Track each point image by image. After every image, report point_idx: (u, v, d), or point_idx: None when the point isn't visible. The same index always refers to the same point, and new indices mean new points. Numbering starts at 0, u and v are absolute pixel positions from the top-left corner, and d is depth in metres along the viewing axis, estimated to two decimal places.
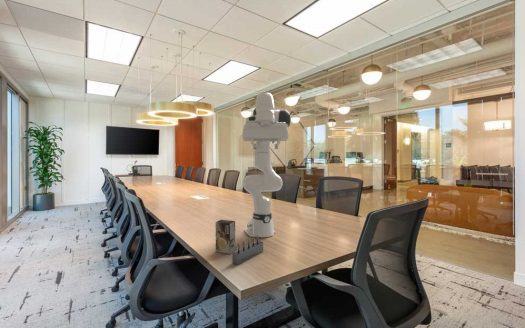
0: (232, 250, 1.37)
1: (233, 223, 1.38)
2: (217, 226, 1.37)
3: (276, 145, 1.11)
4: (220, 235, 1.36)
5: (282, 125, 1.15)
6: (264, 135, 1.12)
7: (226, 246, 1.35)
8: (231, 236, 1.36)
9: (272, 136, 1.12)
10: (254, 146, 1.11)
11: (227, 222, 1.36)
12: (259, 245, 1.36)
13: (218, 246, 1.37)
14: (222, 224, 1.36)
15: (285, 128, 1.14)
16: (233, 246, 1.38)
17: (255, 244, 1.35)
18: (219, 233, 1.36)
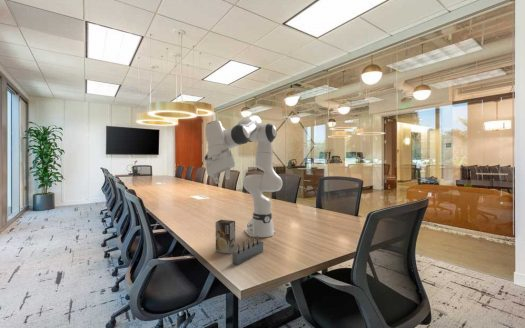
0: (232, 250, 1.37)
1: (233, 223, 1.38)
2: (217, 226, 1.37)
3: (225, 177, 1.18)
4: (220, 235, 1.36)
5: (223, 154, 1.17)
6: (216, 170, 1.22)
7: (226, 246, 1.35)
8: (231, 236, 1.36)
9: (220, 169, 1.20)
10: (215, 182, 1.25)
11: (227, 222, 1.36)
12: (259, 245, 1.36)
13: (218, 246, 1.37)
14: (222, 224, 1.36)
15: (225, 157, 1.16)
16: (233, 246, 1.38)
17: (255, 244, 1.35)
18: (219, 233, 1.36)
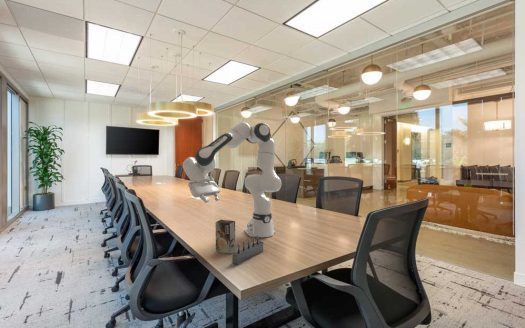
0: (232, 250, 1.37)
1: (233, 223, 1.38)
2: (217, 226, 1.37)
3: None
4: (220, 235, 1.36)
5: None
6: None
7: (226, 246, 1.35)
8: (231, 236, 1.36)
9: None
10: None
11: (227, 222, 1.36)
12: (259, 245, 1.36)
13: (218, 246, 1.37)
14: (222, 224, 1.36)
15: None
16: (233, 246, 1.38)
17: (255, 244, 1.35)
18: (219, 233, 1.36)
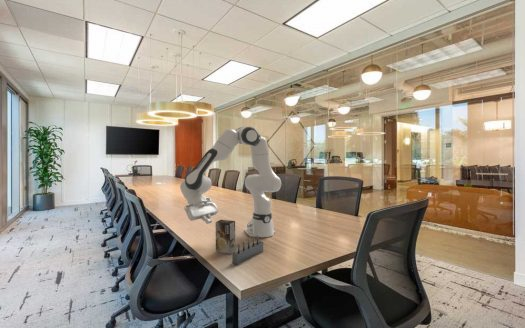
0: (232, 250, 1.37)
1: (233, 223, 1.38)
2: (217, 226, 1.37)
3: None
4: (220, 235, 1.36)
5: None
6: None
7: (226, 246, 1.35)
8: (231, 236, 1.36)
9: None
10: None
11: (227, 222, 1.36)
12: (259, 245, 1.36)
13: (218, 246, 1.37)
14: (222, 224, 1.36)
15: None
16: (233, 246, 1.38)
17: (255, 244, 1.35)
18: (219, 233, 1.36)
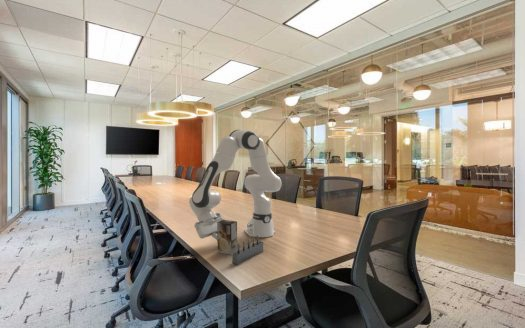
0: (234, 251, 1.35)
1: (235, 223, 1.37)
2: (219, 226, 1.36)
3: None
4: (221, 235, 1.36)
5: None
6: None
7: (227, 246, 1.34)
8: (232, 237, 1.35)
9: None
10: None
11: (229, 222, 1.36)
12: (259, 245, 1.36)
13: (220, 247, 1.36)
14: (224, 224, 1.35)
15: None
16: (235, 247, 1.37)
17: (255, 244, 1.35)
18: (221, 234, 1.36)
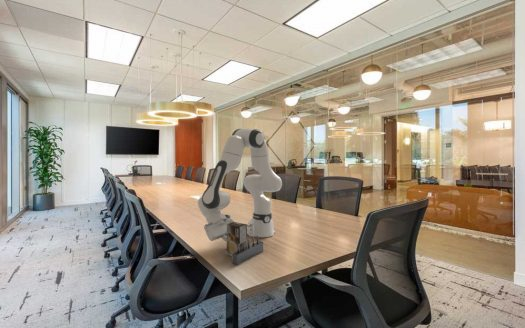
0: None
1: (244, 226, 1.32)
2: (228, 228, 1.32)
3: None
4: (230, 238, 1.31)
5: None
6: None
7: (236, 250, 1.30)
8: (241, 240, 1.30)
9: None
10: None
11: (238, 225, 1.31)
12: (259, 245, 1.36)
13: (229, 249, 1.32)
14: (232, 227, 1.31)
15: None
16: None
17: (255, 244, 1.35)
18: (230, 236, 1.32)
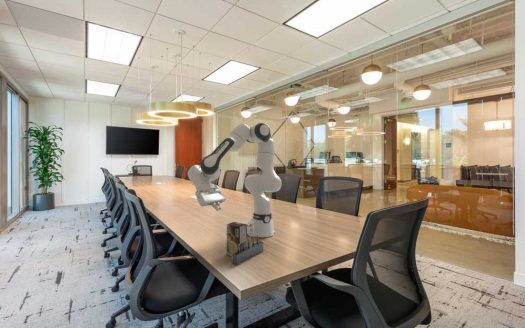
0: None
1: (244, 226, 1.32)
2: (228, 228, 1.32)
3: None
4: (230, 238, 1.31)
5: None
6: None
7: (236, 250, 1.30)
8: (241, 240, 1.30)
9: None
10: None
11: (238, 225, 1.31)
12: (259, 245, 1.36)
13: (229, 249, 1.32)
14: (232, 227, 1.31)
15: None
16: None
17: (255, 244, 1.35)
18: (230, 236, 1.32)
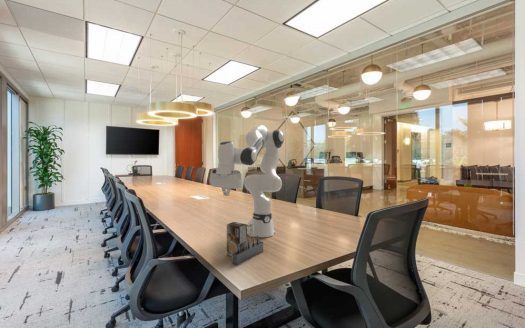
0: None
1: (244, 226, 1.32)
2: (228, 228, 1.32)
3: (226, 194, 1.42)
4: (230, 238, 1.31)
5: (234, 177, 1.37)
6: (223, 186, 1.41)
7: (236, 250, 1.30)
8: (241, 240, 1.30)
9: (228, 187, 1.39)
10: (224, 194, 1.42)
11: (238, 225, 1.31)
12: (259, 245, 1.36)
13: (229, 249, 1.32)
14: (232, 227, 1.31)
15: (236, 180, 1.36)
16: None
17: (255, 244, 1.35)
18: (230, 236, 1.32)
